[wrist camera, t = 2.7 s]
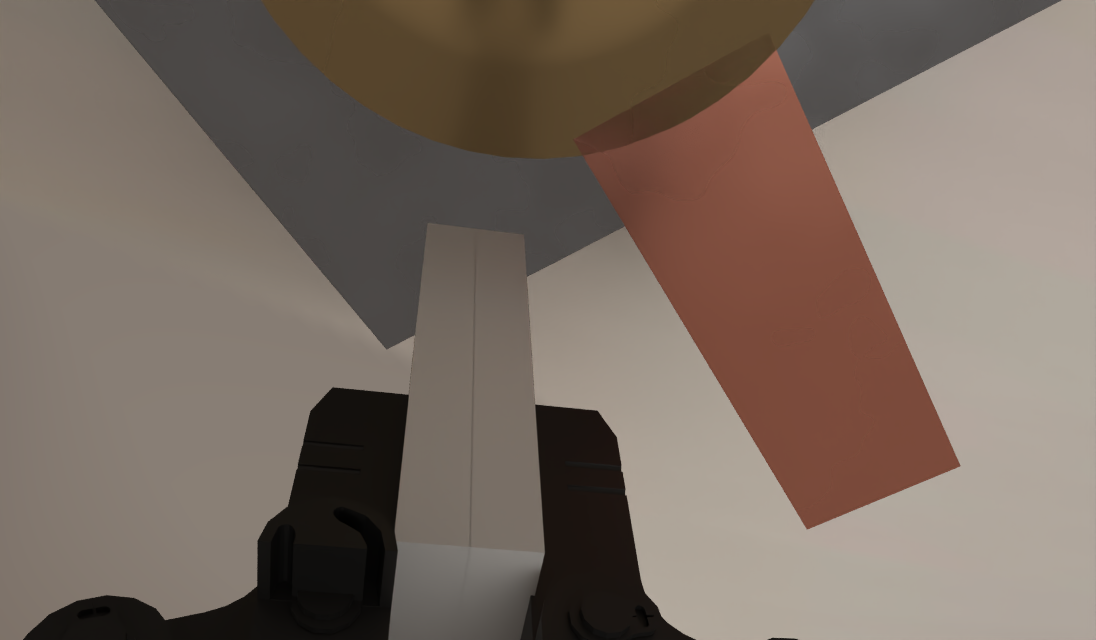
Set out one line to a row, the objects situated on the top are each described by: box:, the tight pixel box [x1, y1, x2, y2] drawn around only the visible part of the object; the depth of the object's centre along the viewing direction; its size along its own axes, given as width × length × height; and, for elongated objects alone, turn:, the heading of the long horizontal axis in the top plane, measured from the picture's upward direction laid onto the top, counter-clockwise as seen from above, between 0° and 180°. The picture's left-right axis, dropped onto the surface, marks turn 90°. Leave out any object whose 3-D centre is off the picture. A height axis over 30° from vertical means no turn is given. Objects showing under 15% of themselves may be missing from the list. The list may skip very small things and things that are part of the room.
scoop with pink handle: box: [261, 0, 960, 529], centre depth 13 cm, size 14×7×3 cm, turn 30°
